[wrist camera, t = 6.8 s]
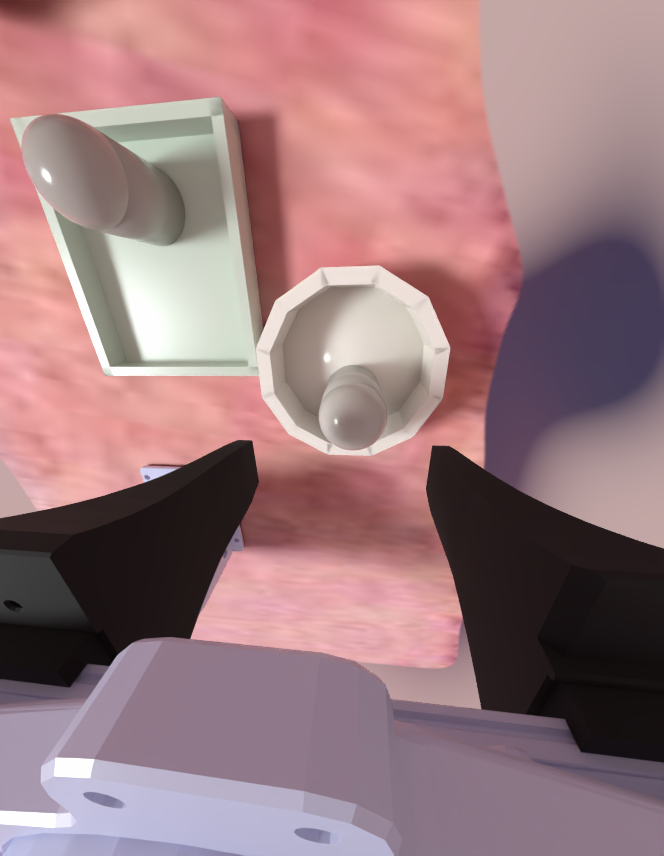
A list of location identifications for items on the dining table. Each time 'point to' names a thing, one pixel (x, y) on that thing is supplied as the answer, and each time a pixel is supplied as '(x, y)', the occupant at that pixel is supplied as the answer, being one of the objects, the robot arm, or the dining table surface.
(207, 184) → the tray
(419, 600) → the dining table surface
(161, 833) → the robot arm
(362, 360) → the bowl
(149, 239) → the stone
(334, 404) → the stone
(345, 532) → the dining table surface
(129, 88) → the dining table surface
